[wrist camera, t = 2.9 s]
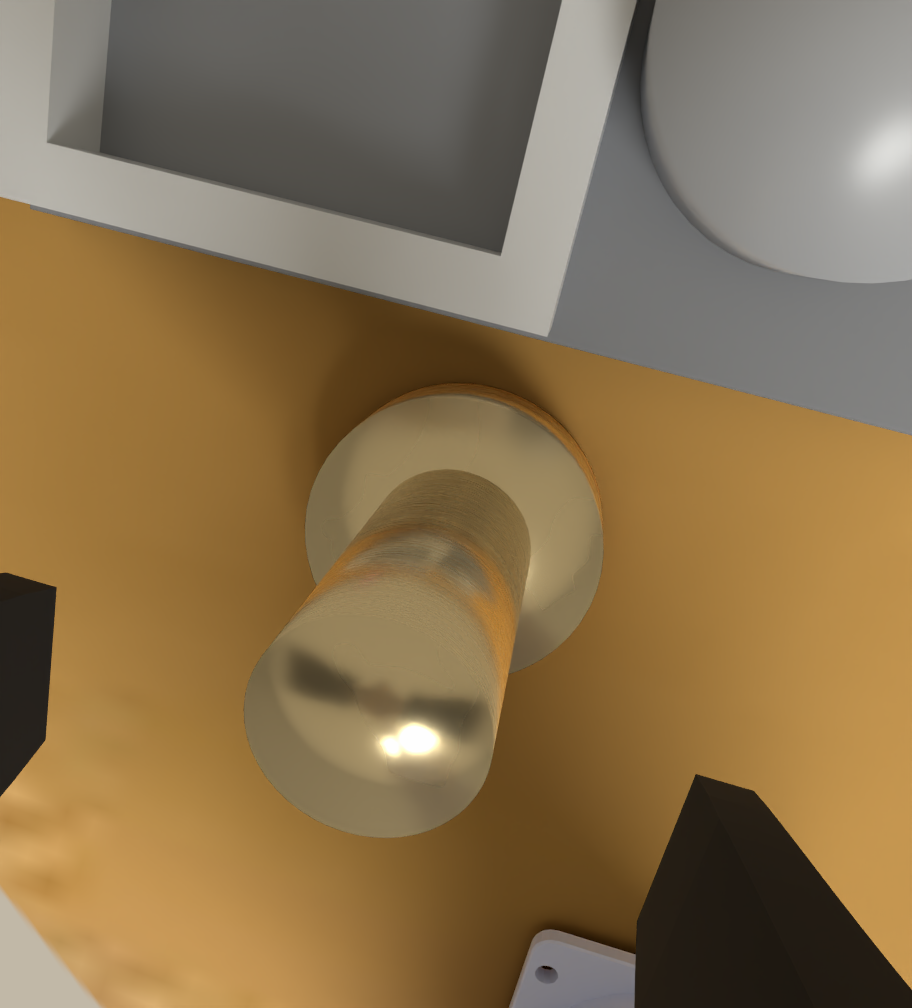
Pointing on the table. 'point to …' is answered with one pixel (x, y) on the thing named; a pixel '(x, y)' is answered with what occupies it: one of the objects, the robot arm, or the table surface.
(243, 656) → the table surface
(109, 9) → the carrier
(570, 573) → the brass flanged shaft
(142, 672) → the table surface
